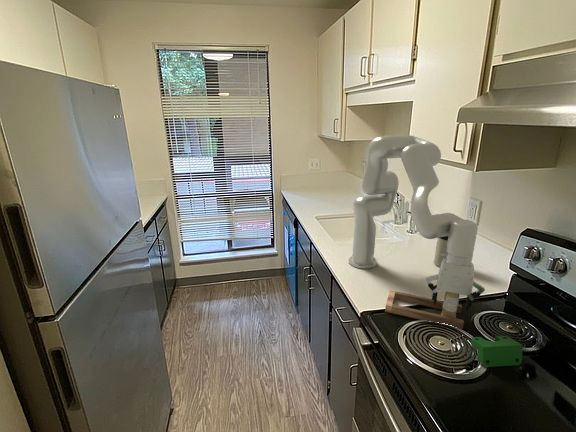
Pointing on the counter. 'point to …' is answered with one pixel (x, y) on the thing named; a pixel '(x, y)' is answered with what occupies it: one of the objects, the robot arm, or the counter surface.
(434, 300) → the robot arm
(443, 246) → the travel mug
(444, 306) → the sprinkles bottle
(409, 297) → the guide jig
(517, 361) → the green toy brick
